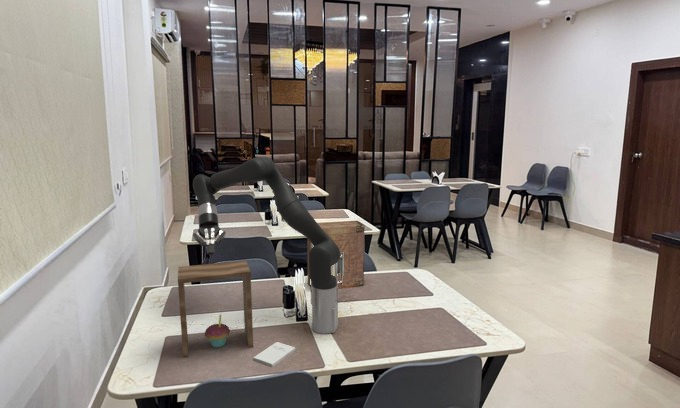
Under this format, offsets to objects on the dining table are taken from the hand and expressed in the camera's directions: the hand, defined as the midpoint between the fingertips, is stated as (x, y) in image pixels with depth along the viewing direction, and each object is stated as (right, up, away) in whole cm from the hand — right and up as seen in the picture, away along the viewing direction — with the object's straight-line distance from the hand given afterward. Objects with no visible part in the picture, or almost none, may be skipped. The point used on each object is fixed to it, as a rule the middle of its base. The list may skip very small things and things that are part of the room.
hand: (211, 254), depth 169 cm
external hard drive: (+28, -32, -22) cm, 47 cm away
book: (+48, -20, +42) cm, 66 cm away
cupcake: (+7, -30, -15) cm, 34 cm away
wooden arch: (+7, -30, -15) cm, 34 cm away
